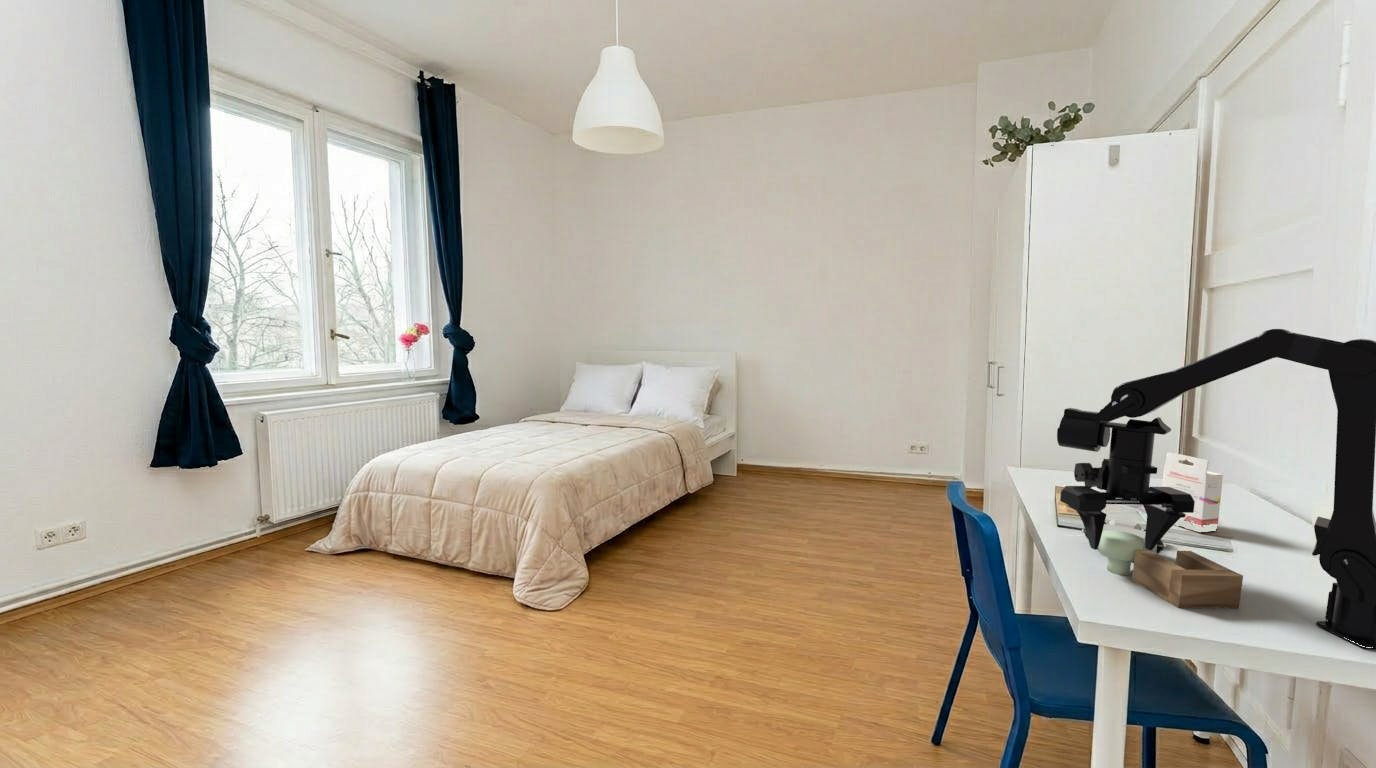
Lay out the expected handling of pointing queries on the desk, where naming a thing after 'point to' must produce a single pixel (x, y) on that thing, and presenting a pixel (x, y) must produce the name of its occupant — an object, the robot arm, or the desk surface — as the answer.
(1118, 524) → the robot toy
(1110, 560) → the peg
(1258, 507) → the desk surface
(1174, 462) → the ink cartridge box
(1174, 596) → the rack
